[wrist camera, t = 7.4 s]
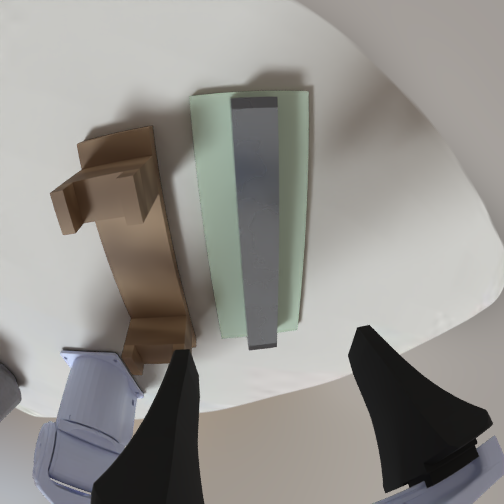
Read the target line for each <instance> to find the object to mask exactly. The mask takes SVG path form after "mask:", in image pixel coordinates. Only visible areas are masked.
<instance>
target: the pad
mask: <svg viewBox="0 0 504 504" xmlns="http://www.w3.org/2000/svg"><path fill="white" fill-rule="evenodd" d="M261 96H274V97H277V98H278V138H279V281H278V323H277V333H279V332H287V331H294V330H297V328H298V318H299V308H300V297H301V286H302V273H303V260H304V245H305V229H306V209H307V184H308V140H309V101H308V91H243V92H227V93H215V94H205V95H196V96H189V100H190V112H191V123H192V133H193V143H194V153H195V162H196V171H197V179H198V188H199V196H200V204H201V211H202V219H203V226H204V233H205V240H206V247H207V254H208V260H209V267H210V273H211V279H212V285H213V291H214V297H215V303H216V309H217V314H218V320H219V326H220V331H221V336H222V339H224V338H235V337H245V336H247V331H246V320H245V308H244V296H243V284H242V271H241V258H240V246H239V232H238V219H237V205H236V191H235V177H234V162H233V147H232V131H231V115H230V99H229V98H238V97H261Z"/></svg>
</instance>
